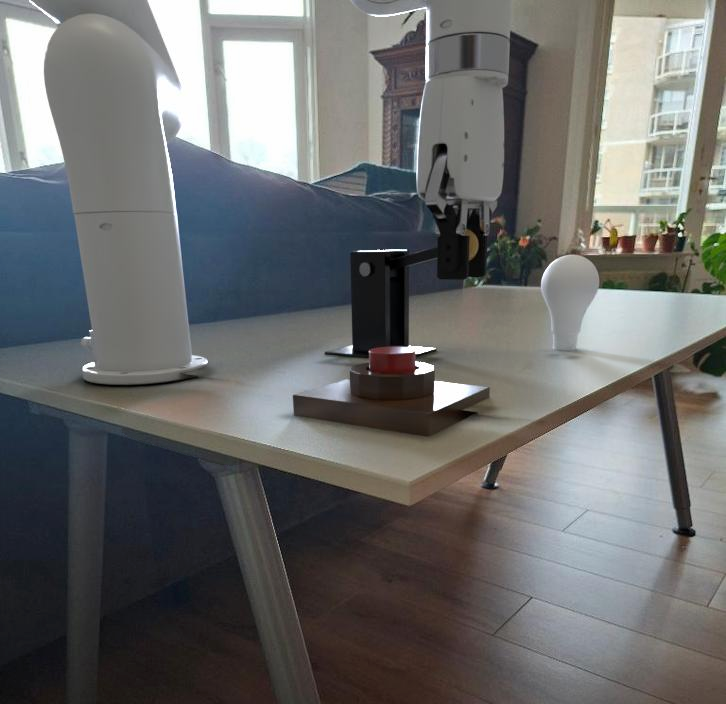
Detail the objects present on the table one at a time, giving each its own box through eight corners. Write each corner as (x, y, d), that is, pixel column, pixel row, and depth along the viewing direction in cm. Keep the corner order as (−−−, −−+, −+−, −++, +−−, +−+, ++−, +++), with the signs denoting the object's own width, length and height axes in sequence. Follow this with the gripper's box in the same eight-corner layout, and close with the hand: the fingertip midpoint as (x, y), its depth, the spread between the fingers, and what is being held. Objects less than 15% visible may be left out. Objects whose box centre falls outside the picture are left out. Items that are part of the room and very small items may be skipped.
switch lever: (486, 258, 67) (481, 225, 66) (472, 259, 64) (467, 224, 64) (380, 285, 75) (374, 255, 74) (364, 286, 72) (358, 256, 71)
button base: (293, 416, 52) (291, 371, 51) (365, 392, 60) (364, 353, 59) (428, 437, 46) (429, 387, 44) (489, 408, 53) (491, 364, 52)
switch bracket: (436, 358, 76) (438, 249, 72) (400, 370, 70) (400, 251, 66) (364, 352, 81) (362, 250, 77) (324, 362, 75) (320, 251, 71)
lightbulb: (549, 350, 80) (557, 254, 76) (600, 355, 76) (610, 253, 72) (526, 357, 75) (533, 255, 72) (578, 363, 72) (588, 255, 68)
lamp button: (360, 374, 51) (359, 351, 51) (385, 367, 54) (385, 345, 53) (400, 378, 49) (400, 355, 49) (424, 371, 52) (424, 348, 51)
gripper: (469, 89, 69) (464, 273, 76) (383, 57, 57) (386, 282, 63) (538, 78, 65) (527, 274, 72) (463, 41, 53) (458, 283, 59)
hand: (461, 276), depth 67 cm, fingers closed on switch lever, 3 cm apart
